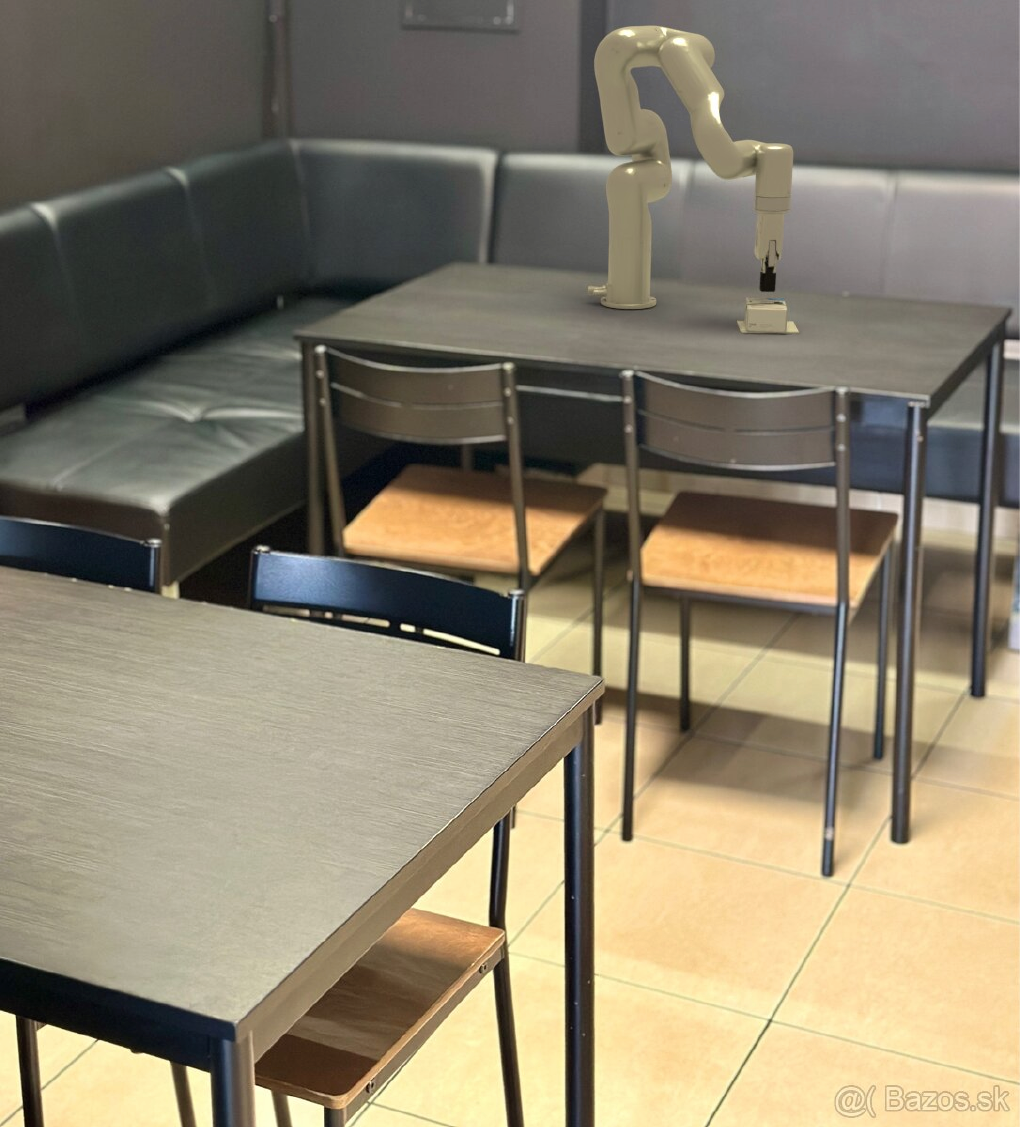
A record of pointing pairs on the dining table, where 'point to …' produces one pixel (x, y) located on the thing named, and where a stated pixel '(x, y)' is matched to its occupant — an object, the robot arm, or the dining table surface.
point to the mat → (790, 330)
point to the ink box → (766, 314)
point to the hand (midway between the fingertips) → (767, 290)
